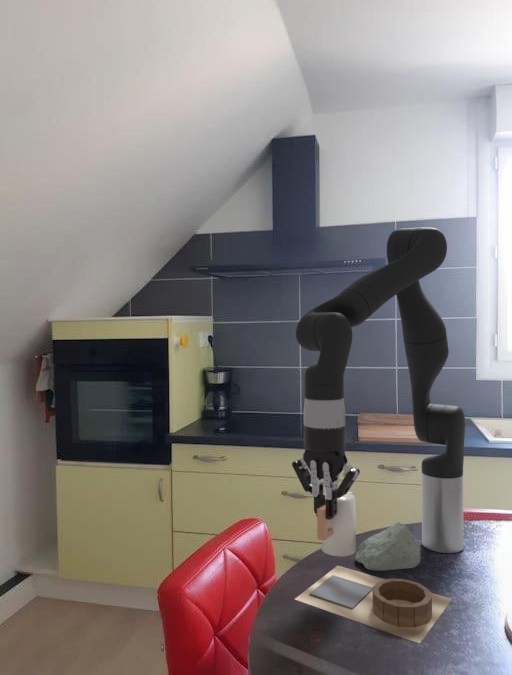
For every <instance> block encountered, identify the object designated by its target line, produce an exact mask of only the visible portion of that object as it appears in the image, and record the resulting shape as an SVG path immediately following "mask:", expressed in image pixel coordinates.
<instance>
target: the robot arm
mask: <svg viewBox="0 0 512 675" xmlns="http://www.w3.org/2000/svg"><path fill="white" fill-rule="evenodd" d="M386 241H387V243H386V260H387V264H386V265H383V266H381V267H379V268H376V269H374V270H371V271H370V272H367V273H365V274H364V275H363V274H362V276H360V277H358V278H357V279H355V280H354V281H353V282H351V284H349V285H348V286H346V288H344V289H342V291H341V292H340V293H339V294H338V295H336V296H335V297H333V298H331V299H329V300H326V301H324V302H323V303H321V304H319V305H318V306H315V307H314V308H311V309H310V310H309V311H308V312H306V313H305V314H304V315H303V316H302V317H301V318H300V320H299V321H298V323H297V325H296V329H295V338H296V341H297V343H298V344H299V346H300V347H301V348H303V349H305V350H307V351H310V352H311V351H312V352H319V357H318V361H317V363H316V364H312V365H310V366H308V367H307V368H306V369H305V372H304V404H303V416H302V417H303V447H304V452H303V454H302V457H301V458H300V459H296V460H294V461H293V462H292V463H291V466H292V468H293V470H294V473H295V474H296V476H297V478H298V480H299V482H300V484H301V486H302V488H303V490H304V491H305V493H310V494H311V495H312V496H313V512H314V514H315V516H316V517H317V508H320V507H322V506H324V505H325V507H326V519H328V520H331V519H332V518H334V516H335V515H336V514H337V498H340V497H342V496H344V495H346V494H347V492H348V491H349V490H350V489H351V488H352V486H353V484H354V483H355V481H356V480H357V479H358V476H359V475H360V473H361V472H360V468H358V467H353V466H352V465H350V464H349V463H348V457H347V456H346V447H347V446H346V445H347V444H346V407H345V397H344V396H345V395H344V393H345V392H344V388H345V387H344V381H345V380H344V375H345V370H346V367H347V364H348V360H349V355H350V352H351V348H352V343H353V330H352V328H353V327H357V326H360V325H362V324H363V323H364V322H365V321H366V320H367V319H369V318H370V317H371V316H372V315H374V313H375V312H377V311H378V310H379V308H381V307H382V306H383V305H384V304H386V302H388V301H389V300H390V299H392V298H394V297H395V296H396V300H397V306H398V311H399V315H400V316H399V317H400V323H401V327H402V328H401V329H402V338H403V339H402V340H403V344H404V345H403V346H404V352H405V357H406V361H407V366H408V374H409V380H410V388H411V402H412V415H413V416H412V417H413V418H412V419H413V427H414V432H415V436H416V437H417V439H418V440H419V441H420V442H422V443H423V442H424V443H428V444H433V445H441V446H445V451H444V452H442V453H439V454H437V455H431V456H427V457H425V458H424V459H422V461H421V544H422V546H423V547H424V548H426V549H427V550H430V551H433V552H435V553H441V554H454V553H455V554H456V553H459V552H461V551H463V550H464V458H465V454H464V453H465V452H464V451H465V436H466V434H465V433H466V418H465V413H464V409H462V408H461V407H460V406H459V405H450V404H439V403H438V404H436V403H435V404H434V403H432V402H431V399H430V397H431V396H430V395H431V389H432V387H433V384H434V383H435V381H436V379H437V377H438V376H439V374H440V373H441V371H442V369H443V367H445V365H446V362H447V359H448V357H449V353H450V352H449V344H448V335H447V334H448V333H447V328H446V324H445V322H444V321H443V318H442V317H441V314H439V312H438V310H436V309H435V307H434V306H433V304H432V303H431V301H430V300H429V299H428V297H427V296H426V294H425V293H424V291H423V288H422V286H421V283H420V280H421V279H424V278H425V277H426V276H428V275H430V274H431V273H434V272H435V271H436V270H438V269H439V267H441V265H443V263H444V262H445V258H446V257H447V253H448V243H447V238H446V236H445V233H443V231H442V230H440V229H438V228H436V227H428V226H427V227H426V226H425V227H423V226H422V227H406V228H405V227H402V228H398V229H395V230H393V231H392V232H391V233H390V234H389V236H388V238H387V240H386ZM342 472H343V475H342V477H344V478H343V479H342V480H341V482H340V475H341V473H342ZM339 483H340V484H339ZM349 492H350V491H349ZM324 493H326V498H327V499H325V495H323V494H324Z"/></svg>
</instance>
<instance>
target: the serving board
mask: <svg viewBox="0 0 512 675" xmlns="http://www.w3.org/2000/svg"><path fill="white" fill-rule="evenodd" d="M452 600H453V598H450V597H447V596H443V595H442V594H441V595H440V594H436V593H434V592H431V591H430V590H429V589H428V588H427V587H426V586H424V585H423V584H421V583H420V582H418V581H417V582H416V581H412V580H410V579H405V578H387V579H386V578H382V577H378V576H375V575H371V574H368V573H365V572H362V571H357V570H354V569H352V568H347V567H344V566H341V565H336V566H335V567H334V568H333V569H331V570H330V571H329V572H327V573H326V574H325V575H324V576H322V577H321V578H319V580H317V581H316V582H315V583H313V584H312V585H311V586H310V587H308V588H307V589H306V590H305V591H303V592H301V594H299V595H298V596H296V597H295V598H294V601H297V602H300V603H303V604H306V605H309V606H312V607H315V608H316V609H321V610H324V611H326V612H329V613H332V614H334V615H337V616H340V617H343V618H346V619H348V620H352V621H353V622H357V623H360V624H364V625H365V626H368V627H371V628H375V629H378V630H380V631H382V632H385V633H388V634H391V635H394V636H396V637H400V638H403V639H406V640H408V641H411V642H414V643H417V644H419V645H420V644H421V642H422V641H423V640H424V639H425V637H426V636H427V634H428V633H429V632H430V630H431V629H432V628H433V626H434V625H435V624H436V622H437V621H438V619H439V618H440V617H441V615H442V614H443V613H444V611H445V610H446V608H447V607H448V606H449V604H450V603H451V602H452Z"/></svg>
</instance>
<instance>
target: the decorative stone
mask: <svg viewBox="0 0 512 675" xmlns="http://www.w3.org/2000/svg"><path fill="white" fill-rule="evenodd" d="M421 550H422V548H421V546H420V545H419V543H417V542H416V541H415V538H414V536H413V535H412V533H411V531H410V530H409V528H408V526H407V524H404V523H401V522H395V523H394V524H393V525H392V526H390V527H387V528H386V529H384V530H381V531H380V532H378V533H375V534H373V535H371V536H370V537H368V538H366V539H365V540H363V541H362V542H361V543H360V545H359V548H358V551H357V552H356V553H355V560H356V562H358V563H359V564H362V565H363V567H364V568H365V569H366V570H368V571H391V570H395V571H396V570H402V569H413V568H417V567H418V566H419V564H420V562H421Z"/></svg>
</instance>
